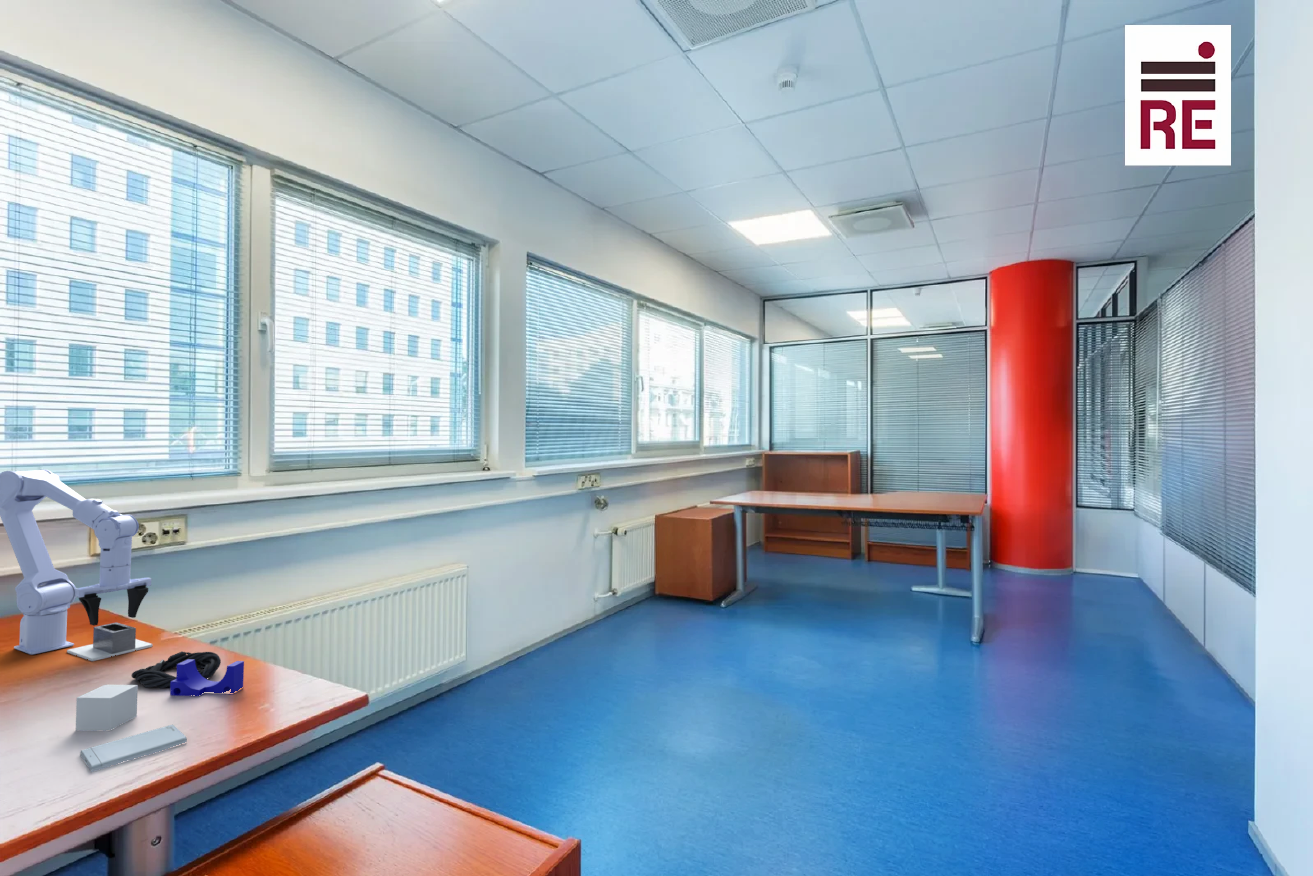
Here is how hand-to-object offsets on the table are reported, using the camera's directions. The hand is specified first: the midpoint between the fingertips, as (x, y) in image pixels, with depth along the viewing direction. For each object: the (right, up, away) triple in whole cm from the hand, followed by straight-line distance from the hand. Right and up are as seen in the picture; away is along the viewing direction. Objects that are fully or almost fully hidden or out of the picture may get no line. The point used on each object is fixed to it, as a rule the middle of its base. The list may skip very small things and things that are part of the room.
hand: (113, 620), depth 151 cm
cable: (+28, -8, -15) cm, 33 cm away
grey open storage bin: (0, -7, 0) cm, 7 cm away
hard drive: (+44, -9, -46) cm, 65 cm away
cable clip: (+39, -9, -23) cm, 46 cm away
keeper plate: (-1, -7, 0) cm, 7 cm away
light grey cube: (+32, -8, -37) cm, 50 cm away
